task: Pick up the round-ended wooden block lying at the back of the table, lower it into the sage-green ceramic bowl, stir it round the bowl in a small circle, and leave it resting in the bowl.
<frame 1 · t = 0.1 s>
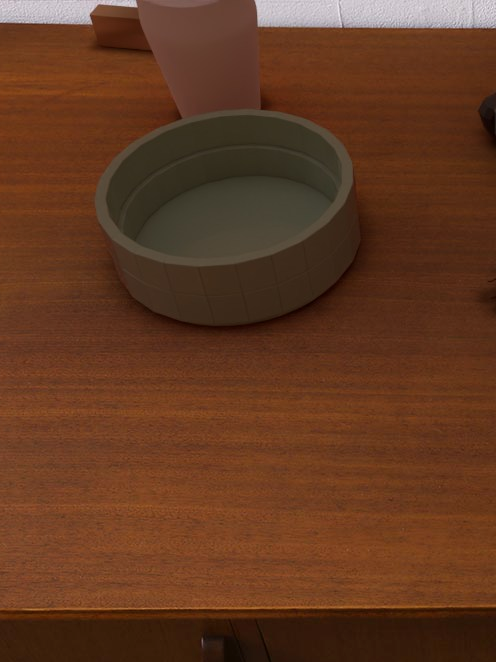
bowl: (241, 245, 74), on the sideboard
cup: (222, 114, 86), on the sideboard
round-ended wooden block: (154, 45, 93), on the sideboard
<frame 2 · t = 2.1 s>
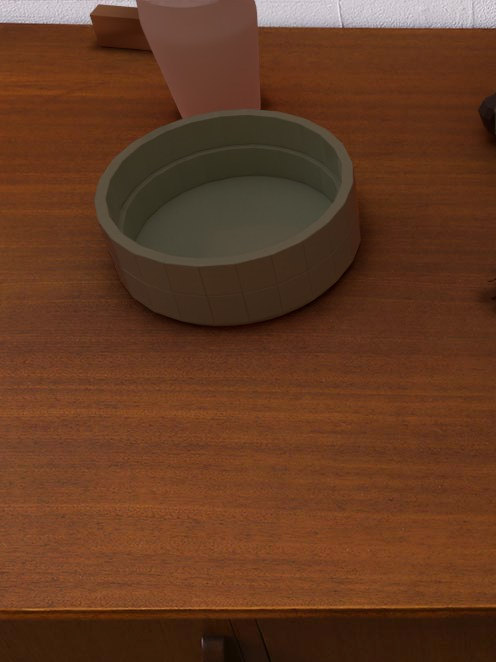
nothing on the sideboard moved.
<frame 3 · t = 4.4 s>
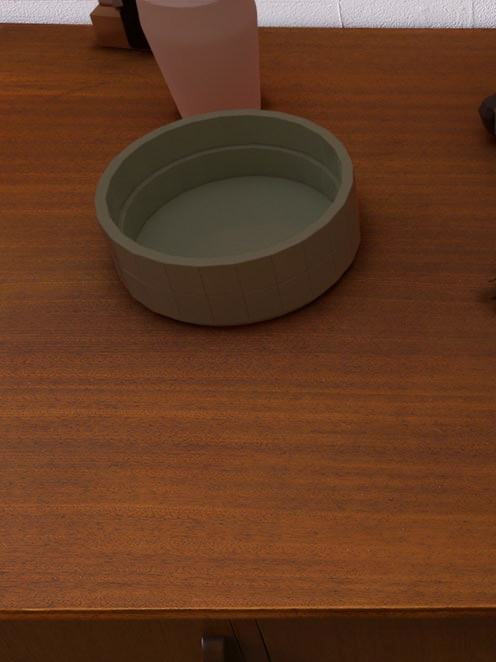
hand: (153, 38, 93), 1 cm above the sideboard, tool pointing down, fingers closed on round-ended wooden block, 2 cm apart
round-ended wooden block: (154, 45, 93), on the sideboard, touching gripper
everything else where it was.
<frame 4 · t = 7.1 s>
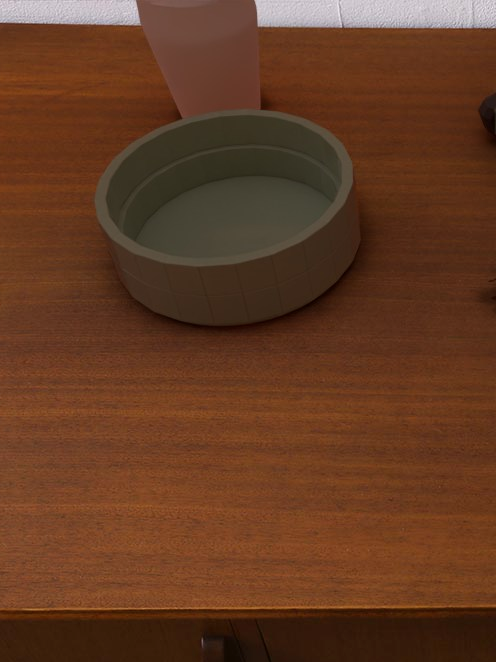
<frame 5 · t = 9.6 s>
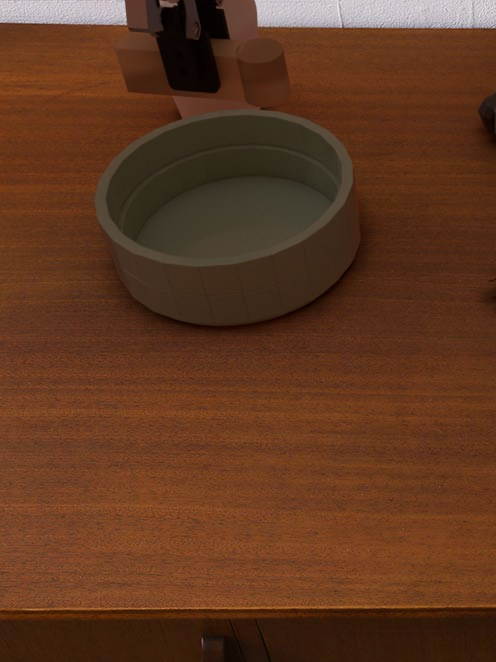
hand: (203, 75, 64), 14 cm above the sideboard, tool pointing down, fingers closed on round-ended wooden block
round-ended wooden block: (207, 90, 65), point 13 cm above the sideboard, touching gripper
everything else where it was.
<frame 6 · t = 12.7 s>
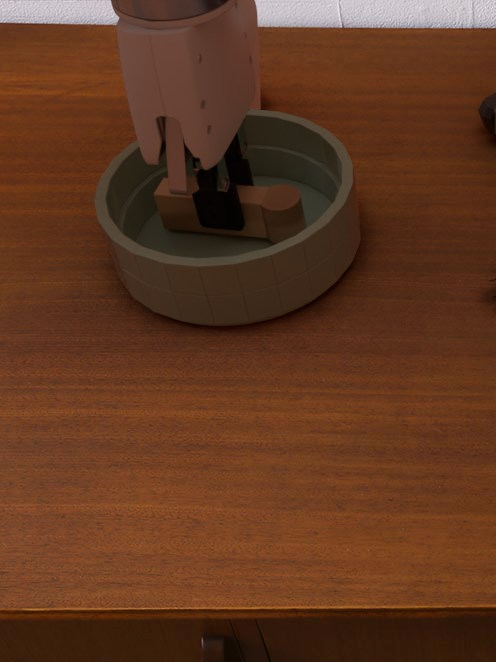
hand: (229, 213, 73), 2 cm above the sideboard, tool pointing down, fingers closed on round-ended wooden block, 2 cm apart
round-ended wooden block: (233, 226, 74), point 1 cm above the sideboard, touching gripper
everything else where it was.
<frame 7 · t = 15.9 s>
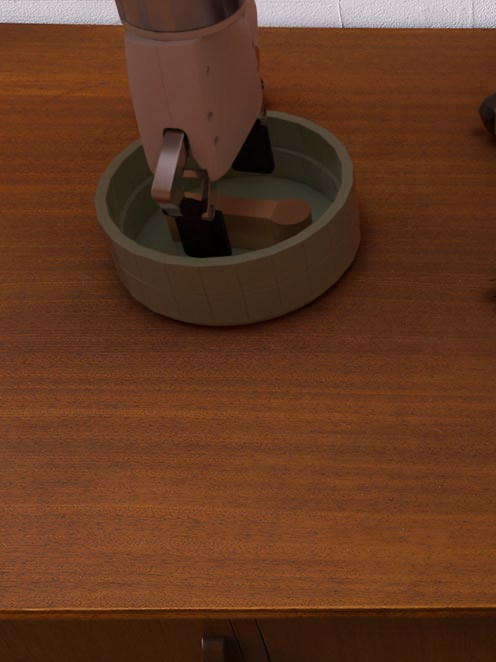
hand: (232, 211, 72), 3 cm above the sideboard, tool pointing down, fingers open, 9 cm apart
round-ended wooden block: (242, 239, 74), point 1 cm above the sideboard, touching bowl
everything else where it was.
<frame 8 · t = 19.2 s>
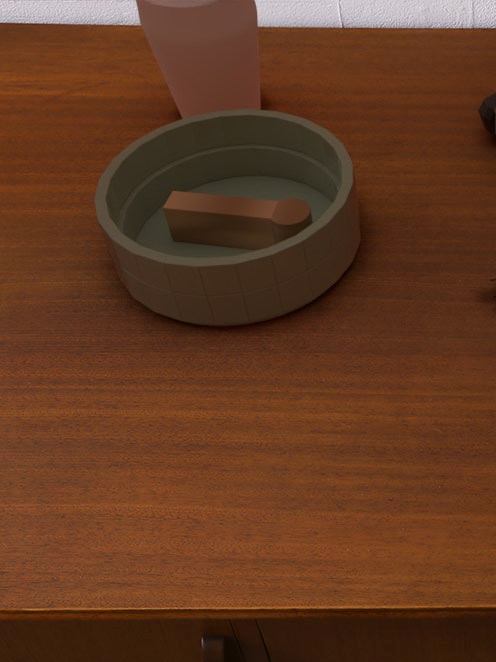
everything else where it was.
at the end: round-ended wooden block inside the target area in the bowl (0.2 cm from its centre), point 0.6 cm above the bowl's base; round-ended wooden block moved 31.2 cm from its start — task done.
